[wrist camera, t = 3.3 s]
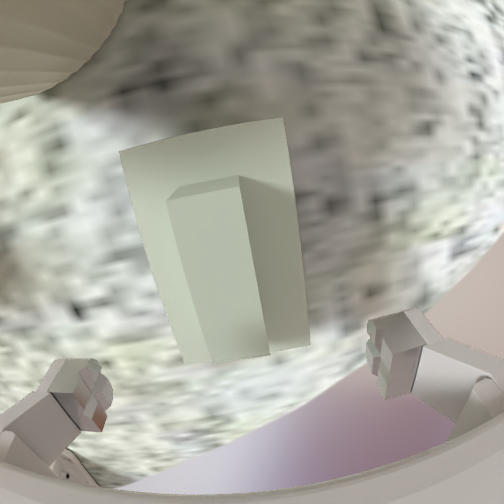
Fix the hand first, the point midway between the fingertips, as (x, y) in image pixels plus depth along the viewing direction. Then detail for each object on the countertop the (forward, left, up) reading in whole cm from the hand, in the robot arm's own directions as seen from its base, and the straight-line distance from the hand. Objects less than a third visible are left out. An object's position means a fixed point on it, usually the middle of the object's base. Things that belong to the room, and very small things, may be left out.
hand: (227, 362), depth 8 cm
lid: (0, 0, -9) cm, 9 cm away
